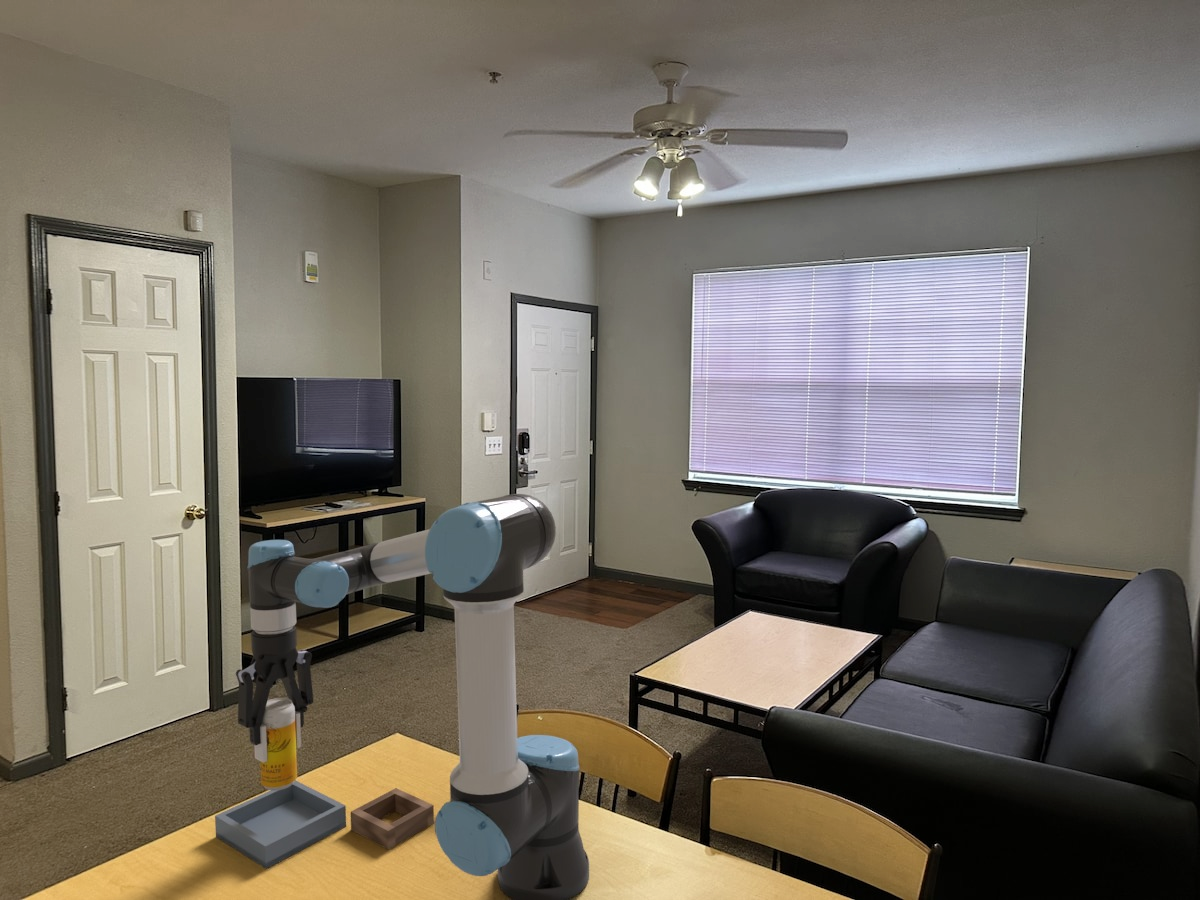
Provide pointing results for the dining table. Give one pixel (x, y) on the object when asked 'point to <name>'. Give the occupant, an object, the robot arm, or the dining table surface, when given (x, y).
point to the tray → (280, 823)
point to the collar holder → (393, 834)
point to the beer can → (279, 745)
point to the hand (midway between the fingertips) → (278, 752)
